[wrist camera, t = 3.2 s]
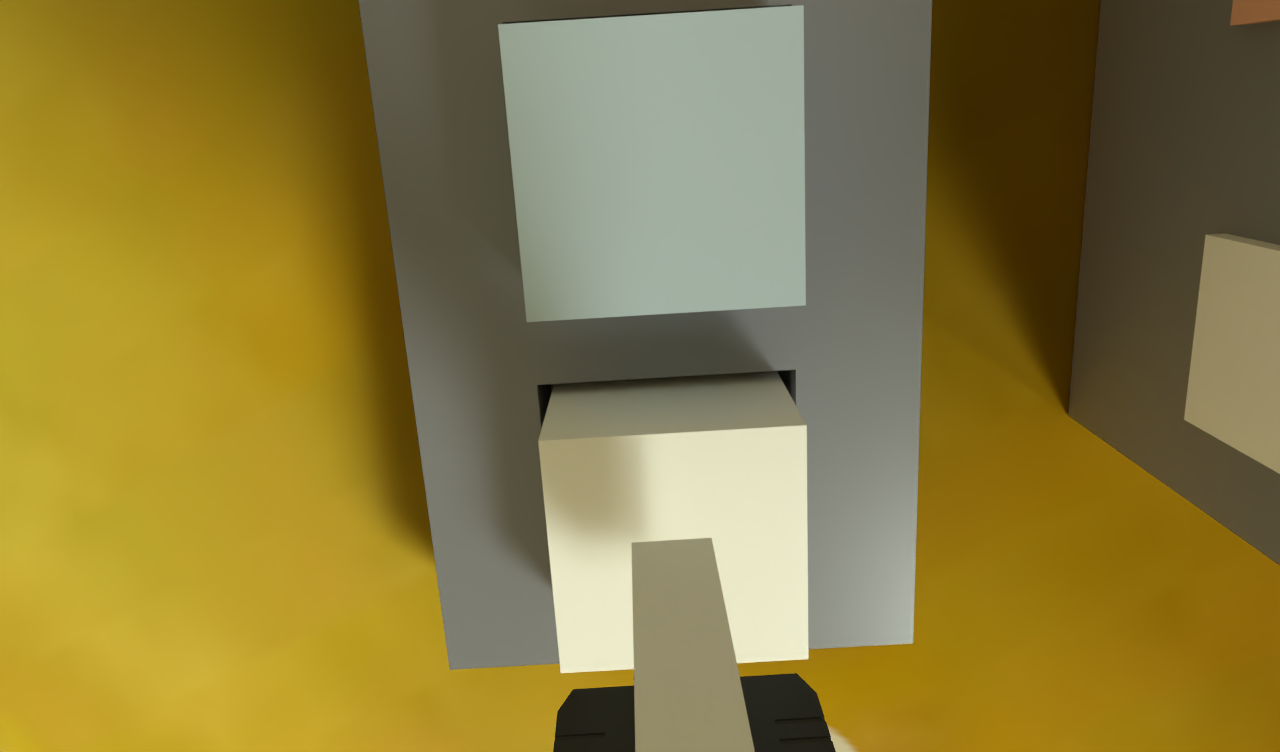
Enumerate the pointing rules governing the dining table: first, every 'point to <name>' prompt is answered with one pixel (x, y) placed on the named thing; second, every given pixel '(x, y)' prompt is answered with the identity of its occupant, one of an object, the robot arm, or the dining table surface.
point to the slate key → (658, 162)
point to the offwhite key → (676, 506)
